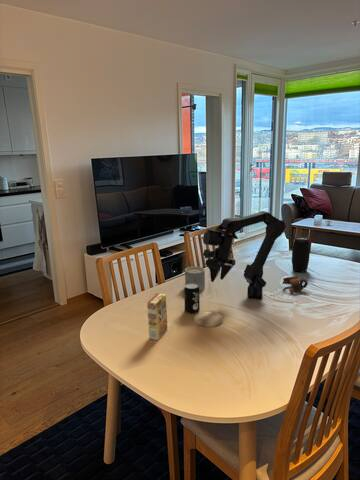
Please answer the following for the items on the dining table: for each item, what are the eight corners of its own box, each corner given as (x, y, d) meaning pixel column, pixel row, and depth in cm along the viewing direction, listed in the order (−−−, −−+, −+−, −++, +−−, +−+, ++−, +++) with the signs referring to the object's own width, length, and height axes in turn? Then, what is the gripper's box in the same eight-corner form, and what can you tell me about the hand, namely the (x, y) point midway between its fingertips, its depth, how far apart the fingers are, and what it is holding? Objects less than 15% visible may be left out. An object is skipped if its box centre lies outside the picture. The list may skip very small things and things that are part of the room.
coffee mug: (195, 293, 177) (195, 274, 174) (181, 288, 184) (181, 269, 181) (213, 286, 186) (213, 267, 183) (199, 281, 193) (199, 263, 190)
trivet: (225, 315, 154) (225, 313, 153) (219, 328, 143) (219, 327, 142) (198, 312, 157) (198, 310, 157) (190, 324, 146) (190, 323, 146)
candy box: (158, 340, 135) (157, 303, 131) (148, 338, 136) (146, 301, 132) (167, 329, 143) (166, 294, 139) (158, 328, 144) (156, 292, 140)
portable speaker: (288, 268, 209) (290, 236, 204) (303, 267, 210) (306, 235, 205) (295, 273, 201) (297, 239, 196) (311, 272, 202) (313, 239, 197)
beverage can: (189, 315, 154) (188, 289, 151) (182, 309, 160) (181, 284, 157) (202, 312, 157) (202, 286, 154) (194, 306, 163) (194, 281, 160)
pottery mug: (284, 294, 175) (280, 278, 177) (285, 295, 183) (282, 280, 186) (309, 290, 171) (305, 273, 173) (309, 292, 180) (306, 275, 182)
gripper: (218, 241, 171) (211, 273, 173) (198, 242, 155) (191, 277, 157) (239, 248, 165) (231, 280, 167) (221, 249, 149) (213, 285, 152)
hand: (216, 280), depth 161 cm, fingers open, 9 cm apart
